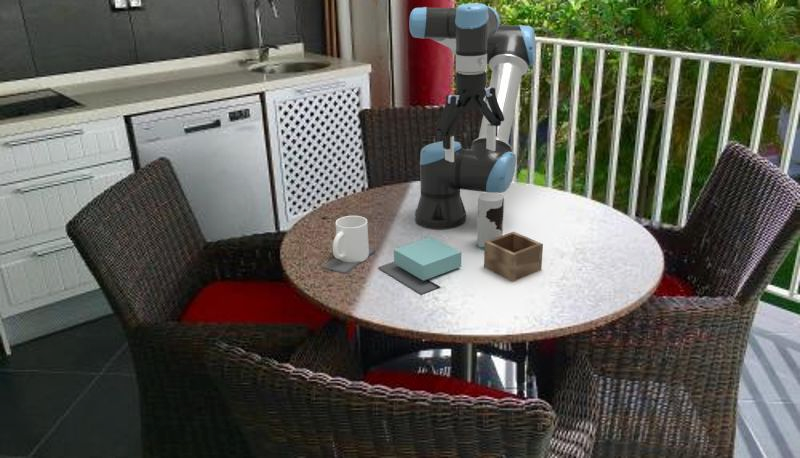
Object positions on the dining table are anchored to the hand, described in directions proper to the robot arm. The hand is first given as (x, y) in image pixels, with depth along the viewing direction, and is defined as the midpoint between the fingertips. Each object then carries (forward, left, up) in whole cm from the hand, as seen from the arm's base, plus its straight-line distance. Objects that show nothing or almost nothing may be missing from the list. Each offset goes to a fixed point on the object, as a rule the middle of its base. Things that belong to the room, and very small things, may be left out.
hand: (470, 155), depth 173 cm
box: (+17, -1, -26) cm, 31 cm away
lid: (+3, -17, -26) cm, 31 cm away
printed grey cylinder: (+4, +4, -26) cm, 27 cm away
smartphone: (-15, -29, -27) cm, 42 cm away
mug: (-15, -29, -26) cm, 42 cm away
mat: (+3, -17, -26) cm, 31 cm away
